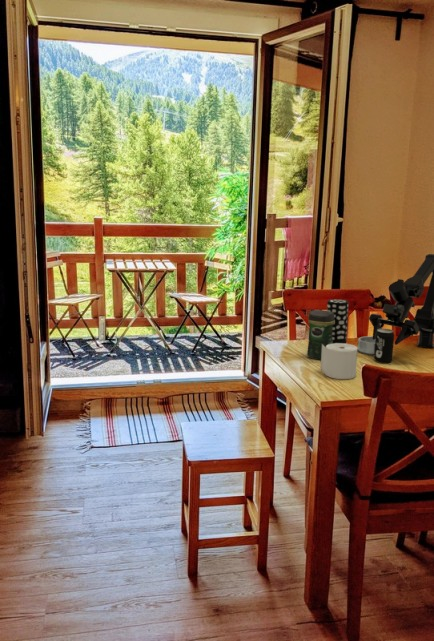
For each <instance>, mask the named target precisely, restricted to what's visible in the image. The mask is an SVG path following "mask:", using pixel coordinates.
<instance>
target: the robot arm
mask: <svg viewBox="0 0 434 641" xmlns="http://www.w3.org/2000/svg"><path fill="white" fill-rule="evenodd" d="M430 276H431V278H430V282H429V285H428V289H427V292H426V295H425V299H424V302H423V305H422V307H421V308H417V310H416V313H415V315H414V318H413V319H408V318H409V315H408V314H409V312H410V310H411V308H415V306H416V305H415V301H414V299H413V298H418V299H419V298H420V297H421V296H422V295H423V292H424V290H425V283H426V281H427V280H428V279H429V277H430ZM388 291H389V293H390V295H391V297H392V298H393V300H394V301H395V304H388V303H384V305H383V309H382V311H381V312H382V313H384V314H385V318H383V317H382V315H381V314H377V313H371V314H370V315H369V317H368V320H369V322H370V323H371V325H372V327H373V331H372V336H373V340H375V339H376V333H377V330H378V329H383V328H384V326H385V325H386V326H392V327H395V328H400V331H399V333H398V336H397V337H396V339H395V341H394V345H396V346H397V345H398V344H400V343H401V342H402V341H404V340H406V339H408V338H410V337H413V336H414V335H415V336H417V335H418V342H417V344H416V347H418V348H419V347H420V348H429V349H434V254H433V253H428V254H426V255H425V258H424V261H423V262H422V263H421V264H420V266H419V267H418V269H417V271H416V272H415V273H414V275H412V277H411V276H410V277H409V278H407V279H406V280H404V279H399V278H398V279H397V280H396V281H394V282H391V284H389V286H388Z"/></svg>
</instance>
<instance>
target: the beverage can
mask: <svg viewBox="0 0 434 641" xmlns="http://www.w3.org/2000/svg"><path fill="white" fill-rule="evenodd" d="M394 340H395V334H394V330H393V329H390V328H382V329H378V330H377V333H376V340H375V355H373V358H374V361H376V362H377V363H380V364H389V363H391V362H393V360H394V358H393V356H394V345H395V341H394Z"/></svg>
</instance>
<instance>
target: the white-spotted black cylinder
mask: <svg viewBox="0 0 434 641" xmlns="http://www.w3.org/2000/svg"><path fill="white" fill-rule="evenodd" d="M326 304H327V306H326V311H331V312H333V313H334V319H335V322H334V325H333V329H332V339H333V344H334V343H343V344H347V342H348V341H347V340H348V338H347V336H348V318H349V301H348V300H345V299H339V298H336V299H335V298H334V299H328V300H327V301H326Z"/></svg>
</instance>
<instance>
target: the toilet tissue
mask: <svg viewBox="0 0 434 641" xmlns="http://www.w3.org/2000/svg"><path fill="white" fill-rule="evenodd" d="M357 348H358V346H356V345H354V344H350V343H346V344H343V343H334V344H329V345H327V346H326V347H325V346H324V345H323V344H322V353H321V360H320V369H321V370H320V371H322V373H323V374H324V375H325V376H327V377H328V378H329V377H330V378H332V379H335V380H348V379H349V380H350V379H354V378H355V377H356V376H357V361H358V351H357V350H358V349H357Z"/></svg>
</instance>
